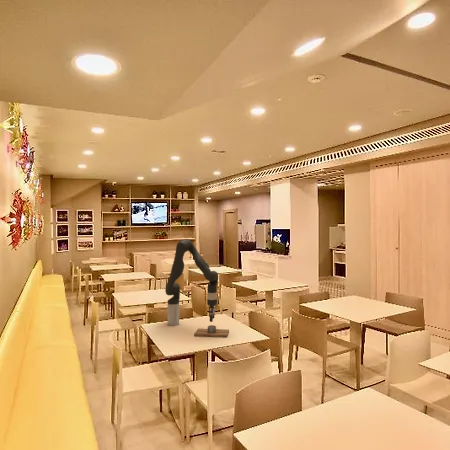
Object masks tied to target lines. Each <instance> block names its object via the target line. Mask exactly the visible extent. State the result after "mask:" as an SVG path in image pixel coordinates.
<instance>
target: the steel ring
mask: <svg viewBox="0 0 450 450" xmlns="http://www.w3.org/2000/svg"><path fill="white" fill-rule="evenodd" d="M210 326H213V327H210ZM207 329H208V333H216V329H217V325H214V324H211V325H208V326H207Z"/></svg>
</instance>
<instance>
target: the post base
mask: <svg viewBox="0 0 450 450" xmlns="http://www.w3.org/2000/svg"><path fill="white" fill-rule="evenodd" d="M209 326H210V325H209ZM210 327H213V326H210ZM229 333H230V329H223V328H222V329H220V328H219V329H218V328H216V333H208V328H197V329H196V331H195V332H194V334H193V336H194V337H201V338H203V337H204V338H225V339H227V338H228V336H229Z"/></svg>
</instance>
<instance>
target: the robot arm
mask: <svg viewBox="0 0 450 450" xmlns="http://www.w3.org/2000/svg"><path fill="white" fill-rule="evenodd" d="M186 252H189V253H190V254H191V255H192V258H193V261H194V264H195V265H196V267H197V268H198V270H199V271H201V273H202V275H203V276H204V278H205V280H207V281H208V284H207V287H206V288H207V293H206V304H207V306H209V308H208V317H209V322H210V323H212V322H214V319H215V313H216V306H217V305H218V282H219V274H218V272H217V271H216V270H211V269H210V265H209V264H208V262H206V260H204V258H203V257H202V256H201V254H200V253H199V251H198V250H197V248H196V247H195V245H194V243H193V242H192V241H191V240H190V239H188V238H185V239H181V240H179V241H178V242H177V244H176V247H175V254H174V258H173V262H172V266H171V270H170V273H169V277H168V280H167V283H166V285H165V289H164V290H165V295H167V296H172V297H171V298H169V299H168V300H167V326H168V327H169V326H170V327H176V326H179V325H180V299H181V298H180V296H181V294H180V293H181V288H180V286H181V285H180V284H179V283H178V282H176V281H178V279H179V278H180V277H181V276H182V275H183V273H184V268H185V262H184V256H185V253H186Z"/></svg>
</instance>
